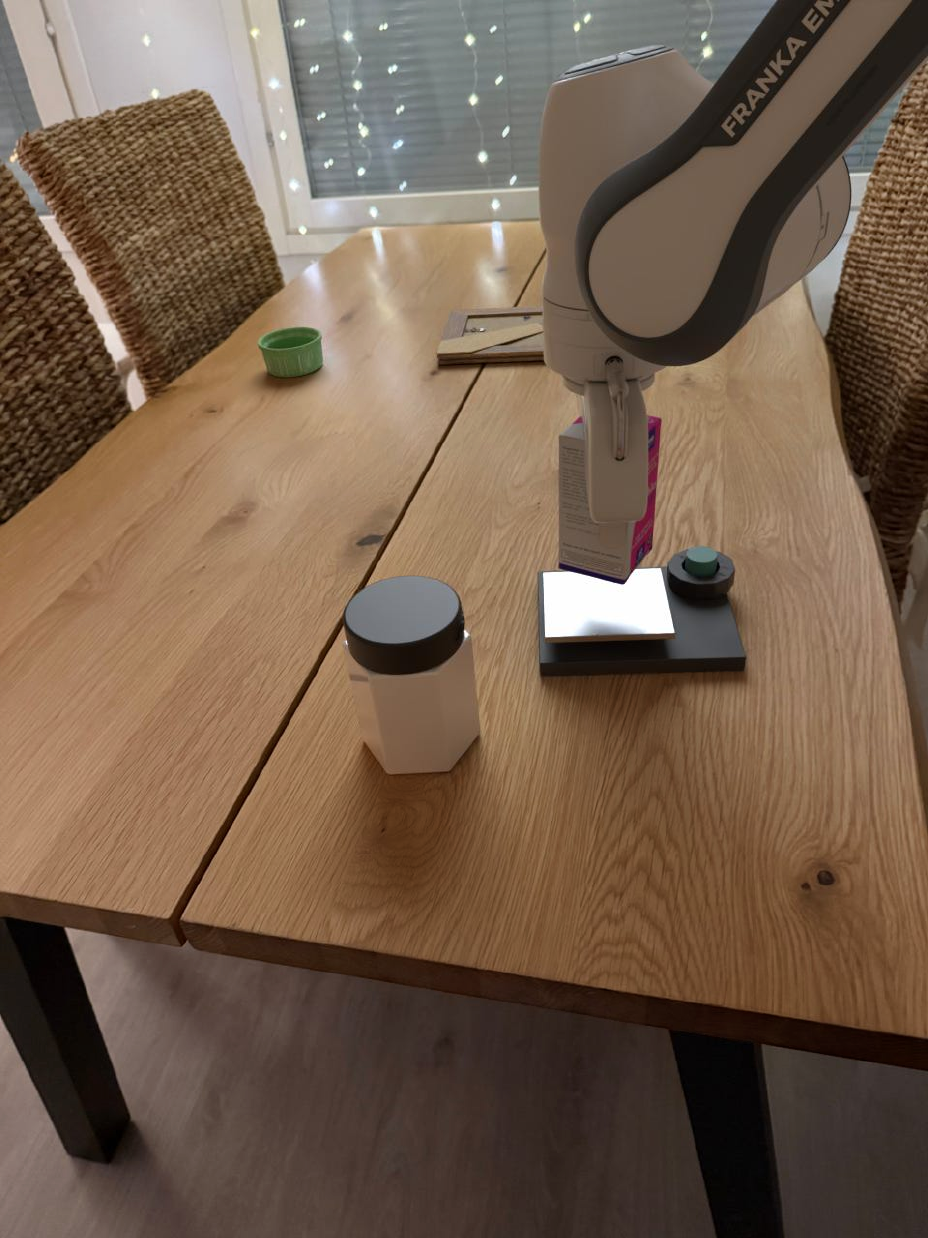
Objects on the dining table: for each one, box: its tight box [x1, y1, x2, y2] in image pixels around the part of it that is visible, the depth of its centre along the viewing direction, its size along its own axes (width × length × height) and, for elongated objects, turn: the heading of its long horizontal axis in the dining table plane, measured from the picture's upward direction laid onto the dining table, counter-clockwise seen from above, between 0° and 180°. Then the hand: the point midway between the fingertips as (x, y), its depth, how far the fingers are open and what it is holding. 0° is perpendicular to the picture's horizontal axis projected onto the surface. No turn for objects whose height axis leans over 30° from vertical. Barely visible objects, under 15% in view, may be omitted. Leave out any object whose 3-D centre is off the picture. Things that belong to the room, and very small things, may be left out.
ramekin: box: [257, 326, 324, 378], centre depth 131 cm, size 9×9×4 cm
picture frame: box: [436, 305, 544, 365], centre depth 133 cm, size 19×2×24 cm
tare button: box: [685, 545, 718, 576], centre depth 79 cm, size 3×3×2 cm
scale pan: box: [543, 568, 675, 643], centre depth 75 cm, size 10×9×1 cm
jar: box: [342, 575, 481, 775], centre depth 66 cm, size 9×8×12 cm
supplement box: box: [557, 414, 663, 585], centre depth 69 cm, size 6×6×12 cm
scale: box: [537, 548, 747, 677], centre depth 77 cm, size 17×13×3 cm
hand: (606, 511), depth 70 cm, fingers closed on supplement box, 7 cm apart
